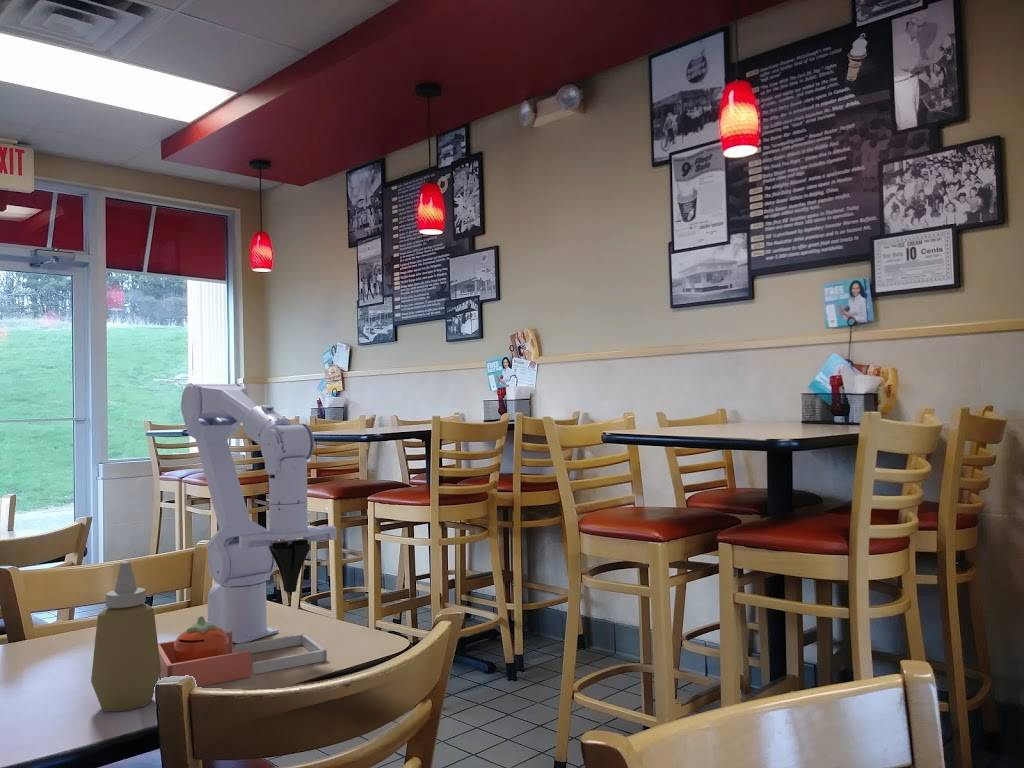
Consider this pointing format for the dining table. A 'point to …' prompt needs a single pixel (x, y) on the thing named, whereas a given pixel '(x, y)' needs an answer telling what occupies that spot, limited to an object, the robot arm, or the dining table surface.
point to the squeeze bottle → (125, 647)
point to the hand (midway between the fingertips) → (289, 591)
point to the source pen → (289, 661)
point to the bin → (206, 665)
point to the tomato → (200, 642)
